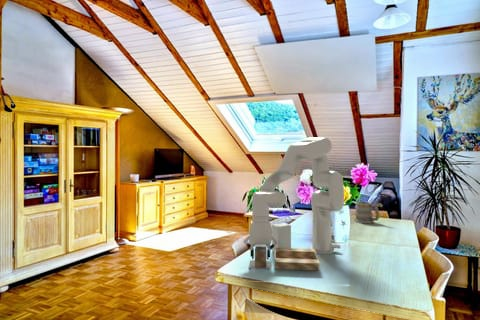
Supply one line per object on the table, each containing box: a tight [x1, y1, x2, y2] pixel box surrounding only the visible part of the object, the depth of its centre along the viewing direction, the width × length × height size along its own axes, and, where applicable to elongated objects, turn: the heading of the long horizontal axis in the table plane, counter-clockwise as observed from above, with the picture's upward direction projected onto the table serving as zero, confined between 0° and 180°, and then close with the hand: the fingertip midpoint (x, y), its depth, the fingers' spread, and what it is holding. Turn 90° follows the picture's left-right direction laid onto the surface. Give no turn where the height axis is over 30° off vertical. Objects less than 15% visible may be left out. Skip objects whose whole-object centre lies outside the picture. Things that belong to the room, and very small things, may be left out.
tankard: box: [353, 201, 384, 224], centre depth 242 cm, size 20×13×15 cm, turn 43°
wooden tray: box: [273, 247, 321, 271], centre depth 151 cm, size 19×20×5 cm
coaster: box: [248, 259, 272, 270], centre depth 150 cm, size 10×10×1 cm
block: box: [254, 245, 267, 267], centre depth 150 cm, size 5×7×8 cm
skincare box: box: [271, 222, 292, 253], centre depth 169 cm, size 8×6×15 cm
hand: (260, 258), depth 150 cm, fingers open, 6 cm apart
